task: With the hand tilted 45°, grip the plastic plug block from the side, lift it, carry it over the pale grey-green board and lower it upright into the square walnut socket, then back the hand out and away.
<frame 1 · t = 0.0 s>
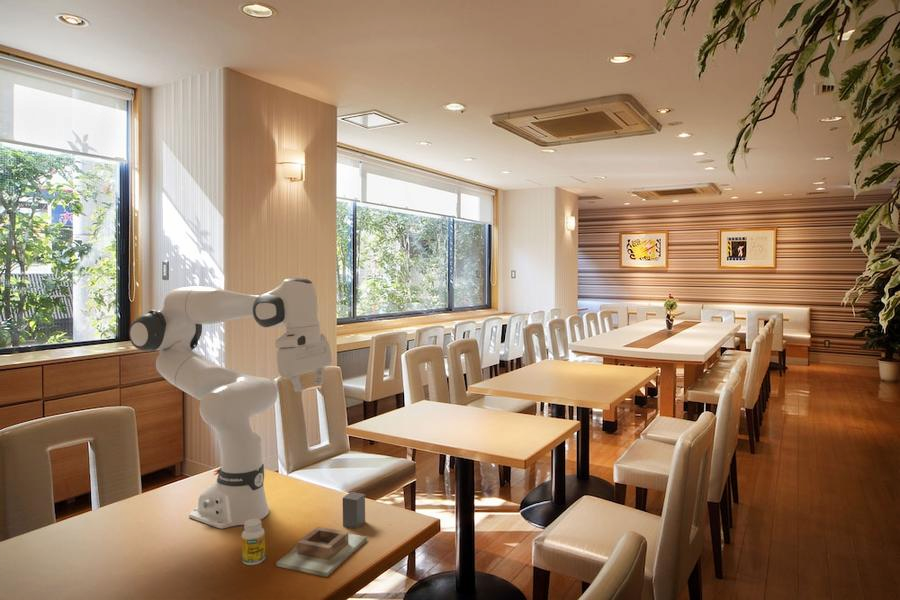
hand: (309, 387, 157), 39 cm above the table, tool pointing down, fingers open, 8 cm apart
socket holder: (323, 552, 145), on the table
supplement bottle: (253, 561, 142), on the table
plug block: (354, 524, 162), on the table
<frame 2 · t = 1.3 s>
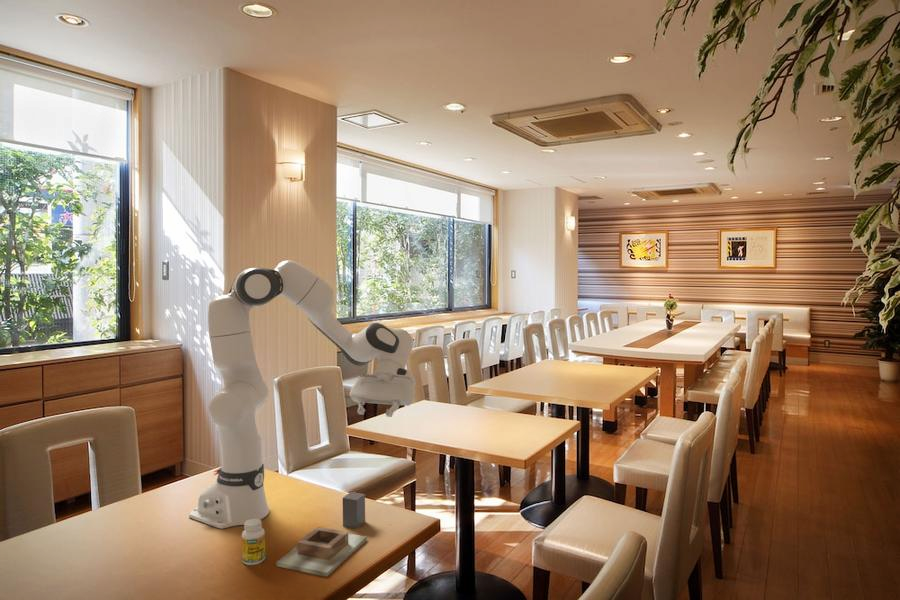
hand: (374, 414, 171), 28 cm above the table, tool tilted 45°, fingers open, 8 cm apart
nothing on the table moved.
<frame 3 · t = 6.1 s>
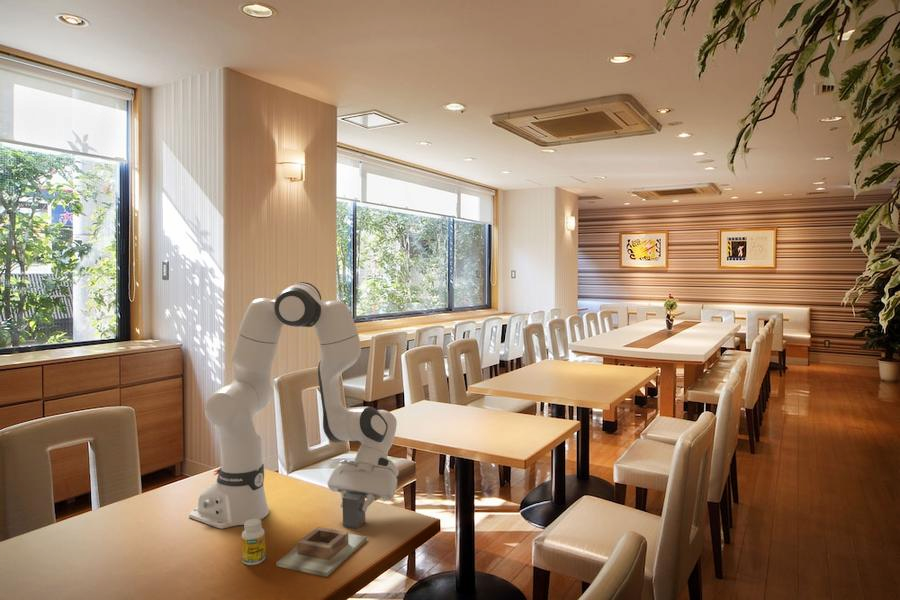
hand: (352, 509, 161), 4 cm above the table, tool tilted 45°, fingers closed on plug block, 4 cm apart
plug block: (354, 523, 161), on the table, touching gripper
everything else where it was.
when the fingers open (7 cm above the table, at t = 14.0 s): plug block drops 1 cm, resting on socket holder.
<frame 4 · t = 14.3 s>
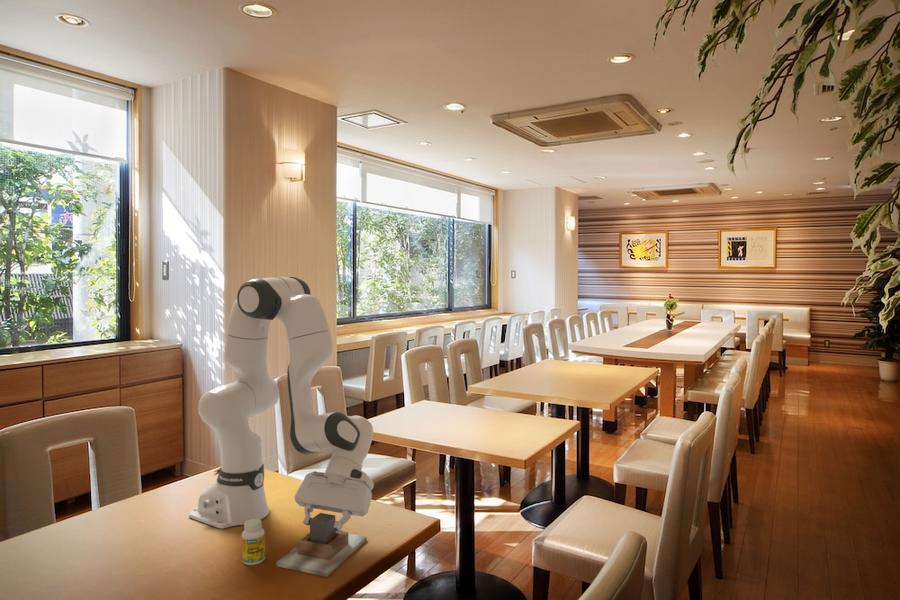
hand: (321, 527, 144), 7 cm above the table, tool tilted 45°, fingers open, 7 cm apart
plug block: (323, 548, 145), point 1 cm above the table, touching socket holder
everything else where it was.
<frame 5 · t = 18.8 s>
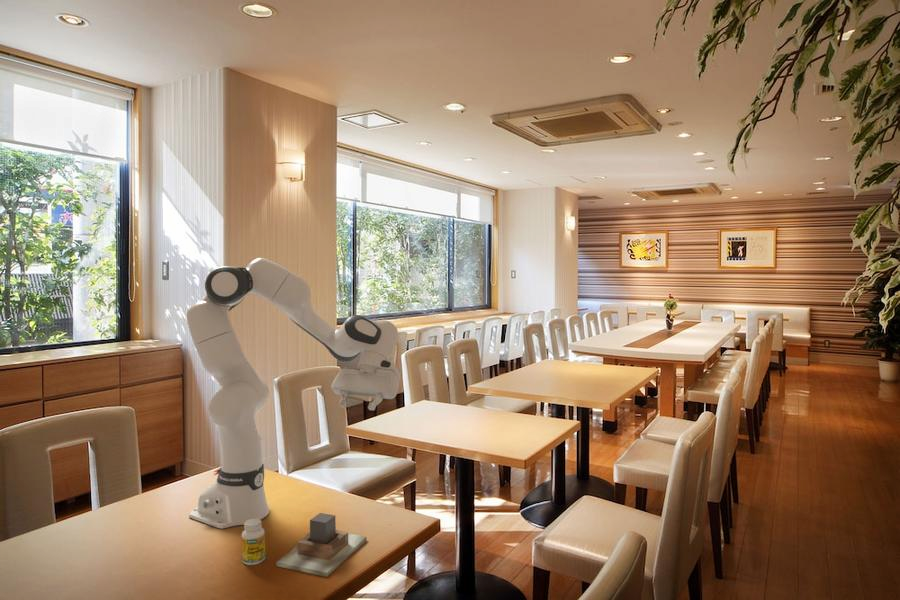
hand: (356, 407, 165), 31 cm above the table, tool tilted 45°, fingers open, 8 cm apart
nothing on the table moved.
at the end: plug block 0.0 cm off-centre on the socket holder, point 1.0 cm above the socket holder's base; plug block tilted 0°; the gripper is holding nothing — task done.
